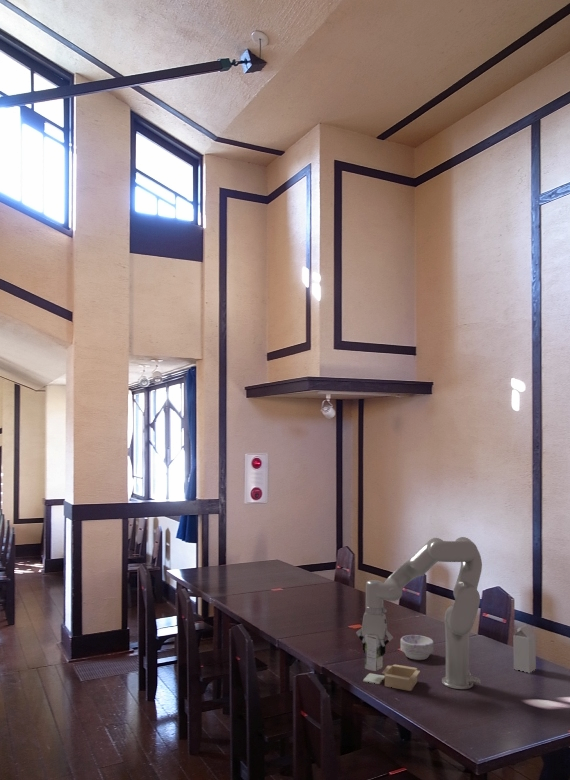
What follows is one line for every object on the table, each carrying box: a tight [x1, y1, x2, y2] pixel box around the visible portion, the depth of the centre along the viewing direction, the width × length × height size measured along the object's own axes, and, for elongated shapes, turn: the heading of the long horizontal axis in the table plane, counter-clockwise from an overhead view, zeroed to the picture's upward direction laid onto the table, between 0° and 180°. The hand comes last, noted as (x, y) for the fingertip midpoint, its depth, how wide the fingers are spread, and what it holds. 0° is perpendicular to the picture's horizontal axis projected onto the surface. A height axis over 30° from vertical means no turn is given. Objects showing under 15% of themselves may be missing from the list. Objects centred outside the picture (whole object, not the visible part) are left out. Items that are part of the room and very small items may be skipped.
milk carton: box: [512, 624, 537, 674], centre depth 282 cm, size 7×7×19 cm
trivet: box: [362, 672, 385, 685], centre depth 267 cm, size 7×9×1 cm
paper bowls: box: [400, 634, 435, 661], centre depth 297 cm, size 15×15×8 cm
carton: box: [381, 664, 421, 692], centre depth 262 cm, size 14×15×5 cm
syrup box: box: [364, 634, 384, 672], centre depth 268 cm, size 6×6×14 cm
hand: (374, 653), depth 268 cm, fingers closed on syrup box, 6 cm apart
